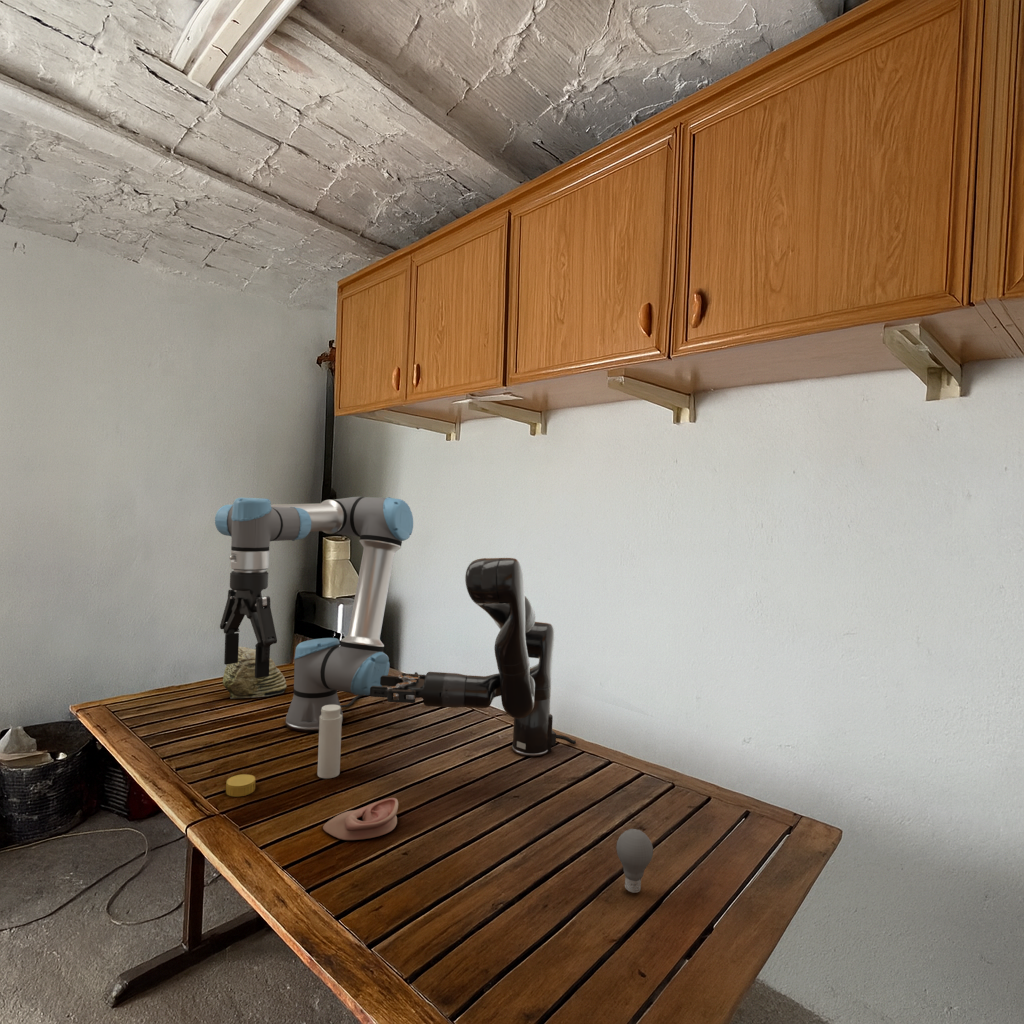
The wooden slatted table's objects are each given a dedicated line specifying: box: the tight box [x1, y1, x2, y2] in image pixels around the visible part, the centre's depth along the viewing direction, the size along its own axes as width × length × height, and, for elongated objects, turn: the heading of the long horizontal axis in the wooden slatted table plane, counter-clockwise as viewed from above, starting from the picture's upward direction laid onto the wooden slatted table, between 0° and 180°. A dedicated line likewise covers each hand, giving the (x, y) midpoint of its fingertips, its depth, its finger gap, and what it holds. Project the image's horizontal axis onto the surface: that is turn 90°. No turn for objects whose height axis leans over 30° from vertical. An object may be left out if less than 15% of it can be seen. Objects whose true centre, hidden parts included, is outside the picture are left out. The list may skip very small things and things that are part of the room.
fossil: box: [222, 646, 288, 699], centre depth 198 cm, size 9×18×15 cm, turn 132°
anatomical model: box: [322, 797, 399, 841], centre depth 122 cm, size 13×4×12 cm
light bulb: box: [615, 828, 654, 894], centre depth 106 cm, size 6×6×10 cm
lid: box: [225, 773, 256, 798], centre depth 135 cm, size 6×6×2 cm
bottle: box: [316, 705, 343, 779], centre depth 145 cm, size 5×5×15 cm
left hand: (245, 670), depth 135 cm, fingers open, 13 cm apart
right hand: (375, 685), depth 144 cm, fingers open, 8 cm apart
